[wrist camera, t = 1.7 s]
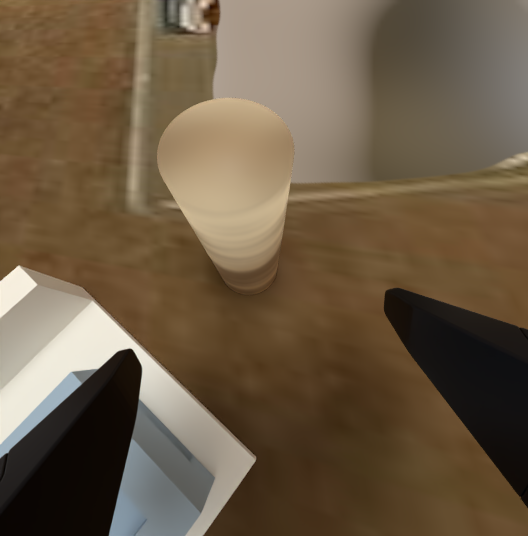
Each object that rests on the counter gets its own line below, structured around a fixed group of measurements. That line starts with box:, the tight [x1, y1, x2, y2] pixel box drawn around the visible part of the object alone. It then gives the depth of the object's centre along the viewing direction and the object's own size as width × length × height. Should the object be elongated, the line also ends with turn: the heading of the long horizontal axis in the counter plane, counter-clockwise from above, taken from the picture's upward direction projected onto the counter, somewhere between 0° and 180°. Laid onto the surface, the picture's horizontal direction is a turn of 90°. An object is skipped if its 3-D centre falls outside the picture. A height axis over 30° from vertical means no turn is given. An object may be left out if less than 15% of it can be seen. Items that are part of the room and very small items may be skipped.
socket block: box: [0, 369, 215, 536], centre depth 15 cm, size 11×11×4 cm
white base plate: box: [0, 266, 256, 536], centre depth 16 cm, size 20×16×6 cm
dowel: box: [157, 98, 294, 295], centre depth 16 cm, size 5×5×14 cm
